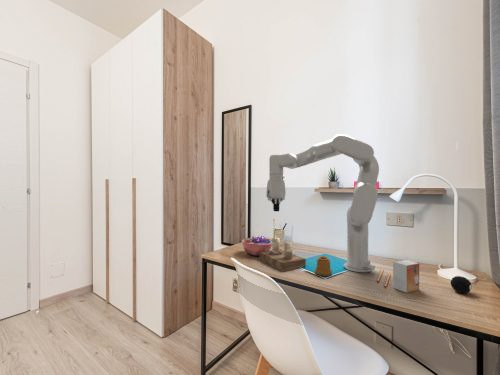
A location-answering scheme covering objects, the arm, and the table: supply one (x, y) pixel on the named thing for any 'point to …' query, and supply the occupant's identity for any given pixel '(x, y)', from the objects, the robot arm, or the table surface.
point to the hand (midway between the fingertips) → (276, 211)
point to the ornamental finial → (323, 266)
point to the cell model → (256, 245)
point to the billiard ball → (461, 284)
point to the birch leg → (275, 246)
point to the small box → (406, 275)
